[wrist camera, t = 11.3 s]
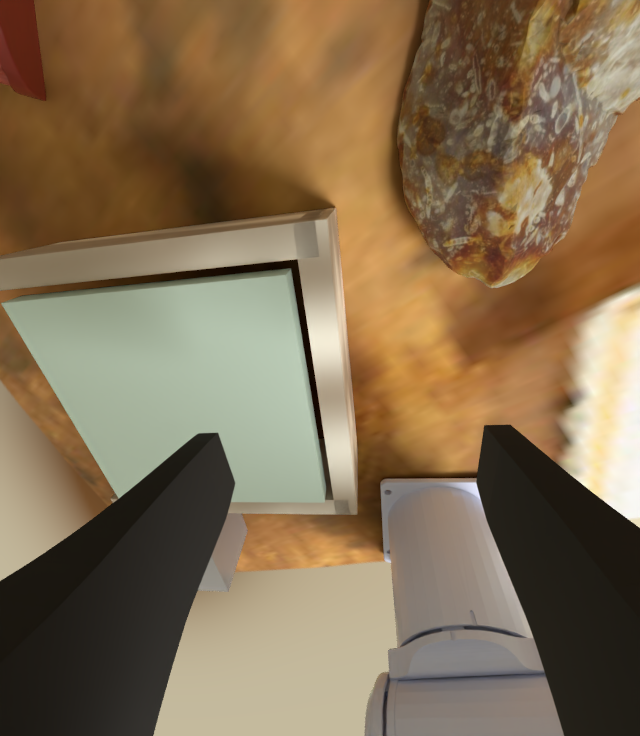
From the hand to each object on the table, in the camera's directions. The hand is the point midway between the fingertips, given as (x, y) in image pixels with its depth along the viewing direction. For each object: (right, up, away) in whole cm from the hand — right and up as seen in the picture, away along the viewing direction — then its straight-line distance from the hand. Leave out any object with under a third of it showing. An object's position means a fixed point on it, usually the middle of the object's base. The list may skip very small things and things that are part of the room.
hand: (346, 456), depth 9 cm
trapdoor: (-7, +1, +7) cm, 10 cm away
